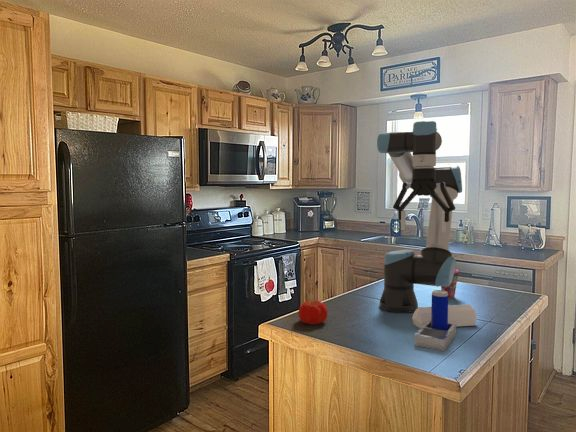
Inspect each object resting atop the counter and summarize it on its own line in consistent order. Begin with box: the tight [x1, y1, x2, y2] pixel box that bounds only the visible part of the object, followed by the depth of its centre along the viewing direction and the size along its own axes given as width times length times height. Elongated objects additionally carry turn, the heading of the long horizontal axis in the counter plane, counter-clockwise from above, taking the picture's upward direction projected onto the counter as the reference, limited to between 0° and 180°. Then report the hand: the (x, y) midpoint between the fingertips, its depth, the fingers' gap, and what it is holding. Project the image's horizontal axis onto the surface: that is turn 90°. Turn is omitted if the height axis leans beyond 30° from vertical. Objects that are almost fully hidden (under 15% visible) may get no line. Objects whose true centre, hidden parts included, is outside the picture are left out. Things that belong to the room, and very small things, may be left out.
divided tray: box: [414, 320, 457, 352], centre depth 144 cm, size 9×17×4 cm, turn 148°
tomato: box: [298, 300, 329, 326], centre depth 163 cm, size 11×11×8 cm
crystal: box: [411, 304, 478, 330], centre depth 158 cm, size 7×7×24 cm
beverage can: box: [431, 289, 449, 331], centre depth 147 cm, size 5×5×15 cm
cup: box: [440, 268, 460, 299], centre depth 196 cm, size 9×8×12 cm
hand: (423, 230), depth 151 cm, fingers open, 13 cm apart
